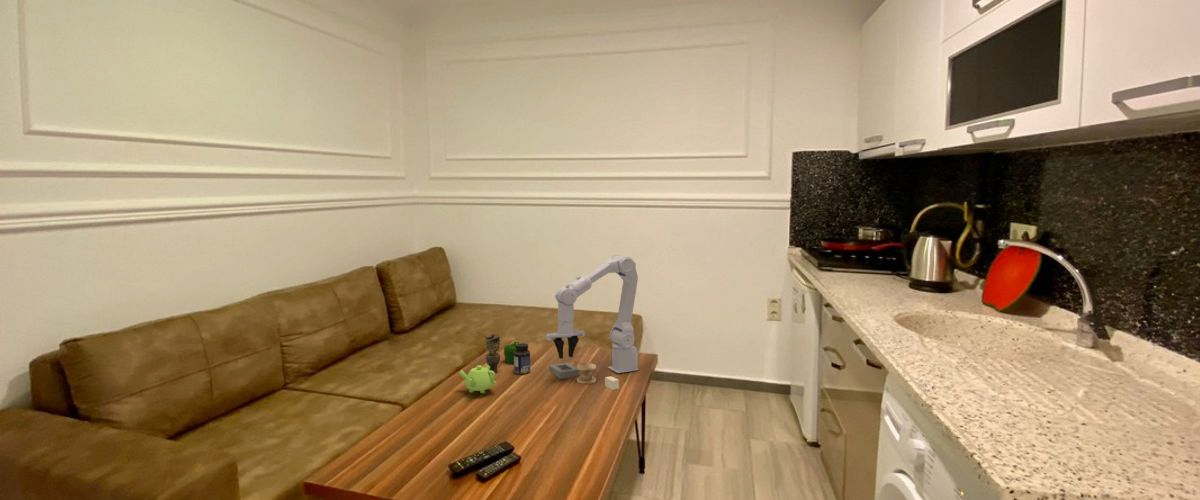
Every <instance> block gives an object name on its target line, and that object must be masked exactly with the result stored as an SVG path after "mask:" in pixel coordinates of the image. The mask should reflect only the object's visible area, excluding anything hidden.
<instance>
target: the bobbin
mask: <svg viewBox="0 0 1200 500" xmlns="http://www.w3.org/2000/svg"><path fill="white" fill-rule="evenodd" d="M576 368H577V369H578V370H579V371H580V375H579V376H577V378H576V382H577V383H578V384H582V385H591V384H595V383H596V382H597V378H596V377H595V376H593V371H595V370H596V369H597V365H596V364H595V363H590V362H584V363H583V362H582V363H578V364H577V365H576Z"/></svg>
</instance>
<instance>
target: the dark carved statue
mask: <svg viewBox="0 0 1200 500" xmlns="http://www.w3.org/2000/svg"><path fill="white" fill-rule="evenodd" d="M500 342H501V340H500V335H498V334H494V333H493V334H492V333H491V334H489V335H485V346H486V347H485V350H486V351H488V353H487V354H486V355H485V362H486V364H487V365H488V366H490V369H489V371H490V370H491V371H493V372H494V373H496V372H497V371H498V365H499V363H500V361H501V354H500V353H499V352H498V351H499V350H500V348H501V347H500V345H501V343H500Z"/></svg>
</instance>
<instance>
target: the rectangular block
mask: <svg viewBox="0 0 1200 500" xmlns="http://www.w3.org/2000/svg"><path fill="white" fill-rule="evenodd" d="M604 387H606V388H607V389H610V390H612V391H615V390H619V389H620V380H619V379H618V378H616V377H614V376H605V377H604Z"/></svg>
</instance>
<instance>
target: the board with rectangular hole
mask: <svg viewBox="0 0 1200 500" xmlns="http://www.w3.org/2000/svg"><path fill="white" fill-rule="evenodd" d="M549 371H550V372H551V373H552V374H554V376H555V377H556V378H558V379H559V380H562V379H563V380H564V379H568V378H574V377H580V370H578V369H577V366H574V365H573V364H571V363H569V362H564V363H557V364H550V365H549Z"/></svg>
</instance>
